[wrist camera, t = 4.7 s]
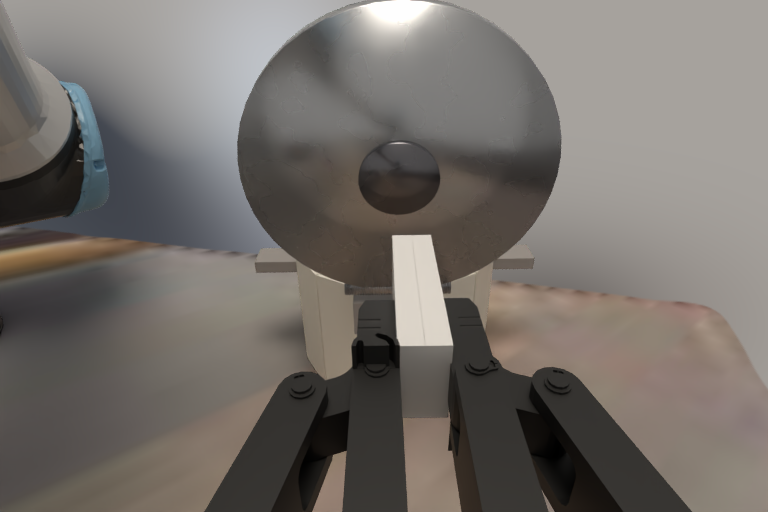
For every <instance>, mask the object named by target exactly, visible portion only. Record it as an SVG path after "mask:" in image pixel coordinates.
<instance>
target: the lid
mask: <svg viewBox="0 0 768 512" xmlns="http://www.w3.org/2000/svg"><path fill="white" fill-rule="evenodd" d="M237 143H238V144H237V146H238V166H239V173H240V179H241V182H242V186H243V189H244V192H245V195H246V198H247V200H248V202H249V204H250V206H251V208H252V211H253V213H254V214H255V216H256V217H257V219H258V220H259V222H260V224H261V225H262V227H263V228H264V229H265V231H266V232H267V233H268V234H269V235H270V237H271V238H272V239H273V240H274V241H275V242H276V243H277V244H278V245H279V246H280V247H281V248H282V249H283V250H284V251H285V252H287V253H288V254H289V255H290V256H292V257H293V258H294V259H296V260H297V261H299V262H300V263H301V264H303V265H305V266H306V267H308V268H310V269H312V270H313V271H315V272H317V273H319V274H322V275H324V276H326V277H328V278H330V279H333V280H336V281H339V282H342V283H344V289H345V295H392V235H431V238H432V243H433V248H434V253H435V258H436V263H437V268H438V273H439V277H440V282H441V287H442V292H443V294H450V293H451V282H452V281H455V280H457V279H460V278H463V277H465V276H468V275H470V274H472V273H474V272H476V271H478V270H480V269H482V268H484V267H485V266H487V265H488V264H490V263H492V262H493V261H495V260H496V259H498V258H499V257H500V256H502V255H503V254H504V253H506V252H507V251H508V250H510V249H511V248H512V247H513V246H514V245H515V244H516V243H517V242H518V241H519V240H520V239H521V238H522V237H523V236H524V235H525V234H526V232H527V231H528V230H529V229H530V228H531V227H532V225H533V224H534V223H535V221H536V220H537V218H538V217H539V215H540V213H541V212H542V210H543V209H544V207H545V205H546V203H547V201H548V199H549V197H550V195H551V192H552V189H553V186H554V183H555V180H556V177H557V174H558V168H559V163H560V158H561V130H560V121H559V116H558V112H557V109H556V105H555V102H554V98H553V96H552V94H551V91H550V89H549V87H548V85H547V83H546V81H545V79H544V77H543V76H542V74H541V73H540V71H539V70H538V68H537V67H536V65H535V64H534V62H533V61H532V59H531V58H530V57H529V55H528V54H527V53H526V52H525V51H524V50H523V49H522V48H521V47H520V45H519V44H518V43H517V42H516V41H515V40H514V39H513V38H512V37H511V36H510V35H508V34H507V33H506V32H505V31H503V30H502V29H501V28H499V27H498V26H497V25H495V24H494V23H492V22H491V21H489V20H487V19H485V18H484V17H482V16H480V15H478V14H477V13H475V12H473V11H470V10H467V9H465V8H462V7H460V6H457V5H454V4H452V3H448V2H442V1H438V0H367V1H362V2H358V3H354V4H350V5H347V6H345V7H342V8H340V9H337V10H335V11H332V12H330V13H327V14H325V15H324V16H322V17H320V18H319V19H317V20H315V21H313V22H312V23H310V24H308V25H306V26H305V27H304V28H303V29H301V30H300V31H299V32H298V33H296V34H295V35H294V36H292V37H291V38H290V39H289V40H287V41H286V43H285V44H284V45H283V46H282V47H281V48H280V49H279V50H278V51H277V52H276V53H275V55H273V57H272V58H271V59H270V61H269V62H268V64H267V65H266V67H265V68H264V69H263V71H262V72H261V74H260V75H259V77H258V79H257V81H256V83H255V85H254V87H253V89H252V91H251V93H250V95H249V98H248V100H247V102H246V104H245V109H244V111H243V115H242V118H241V121H240V127H239V135H238V141H237Z"/></svg>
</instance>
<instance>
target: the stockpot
mask: <svg viewBox="0 0 768 512" xmlns="http://www.w3.org/2000/svg"><path fill="white" fill-rule="evenodd" d="M533 264H534V257H533V255H532V253H531V252H530V250H529V248H528V247H527V245H514V246H513V247H512V248H511V249H510V250H508V251H507V252H506V253H504V254H503V255H502V256H500V257H499V258H498V259H496V260H495V261H493V262H492V263H490V264H488V265H487V266H485V267H484V268H482V269H480V270H478V271H476V272H474V273H472V274H470V275H468V276H465V277H463V278H460V279H457V280H455V281H452V282H451V293H450V294H443V297H444V298H469V299H470V300H471V301H472V302H473V303H474V304H475V305H476V306H477V307H478V310H479V313H480V318H481V320H482V323H483V327H484V330H486V321H487V313H488V304H489V296H490V287H491V278H492V270H493V269H532V268H533ZM255 267H256V273H267V272H297V275H298V284H299V292H300V300H301V309H302V317H303V325H304V334H305V342H306V351H307V358H308V359H309V361H310V362H311V364H312V365H313V367H314V369H315V370H316V372H317V373H318V374H319V375H320V376H321V377H322V378H324V379H325V380H328V379H332V378H335V377H338V376H341V375H342V374H344V373H346V372H347V371H348V370H349V369H350V368H351V367H352V351H351V345H352V343H353V340H354V339H355V338H356V337H357V326H358V312H359V308H360V307H361V305H362V304H363V303H364V301H365V300H393V294H392V295H345V289H344V283H342V282H339V281H336V280H333V279H330V278H328V277H326V276H324V275H322V274H319V273H317V272H315V271H313V270H312V269H310V268H308V267H306V266H305V265H303V264H301V263H300V262H299V261H297V260H296V259H294V258H293V257H292V256H290V255H289V254H288V253H287V252H285V251H284V250H283V249H282V248H271V249H270V248H268V249H261V250H260V252H259V254H258V256H257V258H256V261H255Z"/></svg>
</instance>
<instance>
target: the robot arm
mask: <svg viewBox="0 0 768 512" xmlns="http://www.w3.org/2000/svg"><path fill="white" fill-rule="evenodd" d="M108 195H109V180H108V173H107V167H106V164H105V162H104V152H103V146H102V141H101V137H100V133H99V129H98V126H97V122H96V119H95V115H94V112H93V109H92V106H91V103H90V101H89V98H88V96H87V94H86V92H85V91H84V89H83V88H81V87H80V86H79V85H77V84H75V83H65V82H63V81H58V80H57V79H56V78H55V77H54V76H53V75H52V74H51V73H50V72H49V71H48V70H46V69H45V68H44V67H43V66H41V65H40V64H38V63H37V62H35V61H34V60H32V59H30V58H28V57H27V56H26V54H25V52H24V50H23V48H22V45H21V43H20V41H19V39H18V37H17V34H16V32H15V30H14V28H13V26H12V23H11V21H10V19H9V17H8V15H7V13H6V10H5V8H4V6H3V4H2V1H1V0H0V228H4V227H9V226H14V225H19V224H25V223H30V222H35V221H41V220H46V219H51V218H56V217H61V216H62V217H72V216H73V215H76V214H78V213H80V212H84V211H87V210H92V209H96V208H98V207H100V206H102V205H103V204H104V203H105V202H106V200H107V198H108ZM392 294H393V300H365V301H364V303H363V304H362V305H361V307H360V308H359V312H358V326H357V337H356V338H355V339H354V340H353V343H352V345H351V351H352V367H351V368H350V369H349V370H348V371H347V372H346V373H344V374H342V375H341V376H338V377H335V378H332V379H328V380H325V379H324V378H322V377H321V376H320V375H319V374H316V373H313V372H299V373H295V374H292V375H290V376H288V377H287V378H285V379H284V380H283V381H282V382H281V383H280V384H279V386H278V388H277V389H276V391H275V393H274V394H273V396H272V398H271V399H270V401H269V403H268V405H267V406H266V408H265V410H264V411H263V413H262V415H261V416H260V418H259V420H258V422H257V423H256V425H255V427H254V428H253V430H252V432H251V433H250V435H249V437H248V439H247V440H246V442H245V444H244V445H243V447H242V449H241V450H240V452H239V454H238V456H237V457H236V459H235V461H234V462H233V464H232V466H231V467H230V469H229V471H228V473H227V474H226V476H225V478H224V479H223V481H222V483H221V484H220V486H219V488H218V490H217V491H216V493H215V495H214V496H213V498H212V500H211V501H210V503H209V505H208V507H207V508H206V510H205V512H312V511H313V508H314V505H315V503H316V500H317V497H318V495H319V492H320V490H321V487H322V484H323V482H324V479H325V477H326V474H327V471H328V469H329V466H330V463H331V461H332V457H333V455H334V454H337V453H341V452H344V451H347V455H346V469H345V483H344V497H343V511H342V512H408V510H407V491H406V473H405V454H404V436H403V418H440V417H448V409H449V412H450V419H451V421H450V434H449V446H448V451H452V452H453V458H454V465H455V471H456V478H457V484H458V491H459V498H460V504H461V511H462V512H548V509H547V506H546V503H545V500H544V496H543V493H542V491H543V492H544V494H545V496H546V497H547V499H548V501H549V503H550V504H551V506H552V508H553V509H554V511H555V512H692V511H691V510H690V509H689V508H688V506H687V505H686V504H685V503H684V502H683V501H682V499H681V498H680V497H679V496H678V495H677V494H676V492H675V491H674V490H673V489H672V488H671V487H670V485H669V484H668V483H667V482H666V481H665V479H664V478H663V477H662V476H661V475H660V474H659V472H658V471H657V470H656V469H655V468H654V467H653V465H652V464H651V463H650V462H649V461H648V460H647V458H646V457H645V456H644V455H643V454H642V452H641V451H640V450H639V449H638V448H637V447H636V445H635V444H634V443H633V442H632V441H631V440H630V438H629V437H628V436H627V435H626V434H625V432H624V431H623V430H622V429H621V428H620V427H619V425H618V424H617V423H616V422H615V421H614V420H613V418H612V417H611V416H610V415H609V414H608V413H607V411H606V410H605V409H604V408H603V407H602V405H601V404H600V403H599V402H598V401H597V400H596V398H595V397H594V396H593V395H592V394H591V393H590V391H589V390H588V389H587V388H586V387H585V386H584V384H583V383H582V382H581V381H580V380H579V379H578V378H577V377H576V376H575V375H573V374H572V373H570V372H568V371H566V370H564V369H560V368H555V367H546V368H542V369H540V370H537V371H536V372H535V373H534V375H533V377H528V376H523V375H519V374H515V373H512V372H510V371H508V370H506V369H504V368H502V366H501V364H500V362H499V361H498V360H497V359H496V358H494V357H493V356H492V353H491V349H490V346H489V343H488V340H487V336H486V333H485V330H484V327H483V323H482V320H481V318H480V313H479V310H478V307H477V306H476V305H475V304H474V303H473V302H472V301H471V300H470V299H469V298H444V297H443V292H442V287H441V282H440V277H439V273H438V268H437V263H436V258H435V253H434V248H433V243H432V238H431V235H392ZM2 326H3V321H2V318H1V316H0V332H1V330H2ZM541 489H542V490H541Z"/></svg>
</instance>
